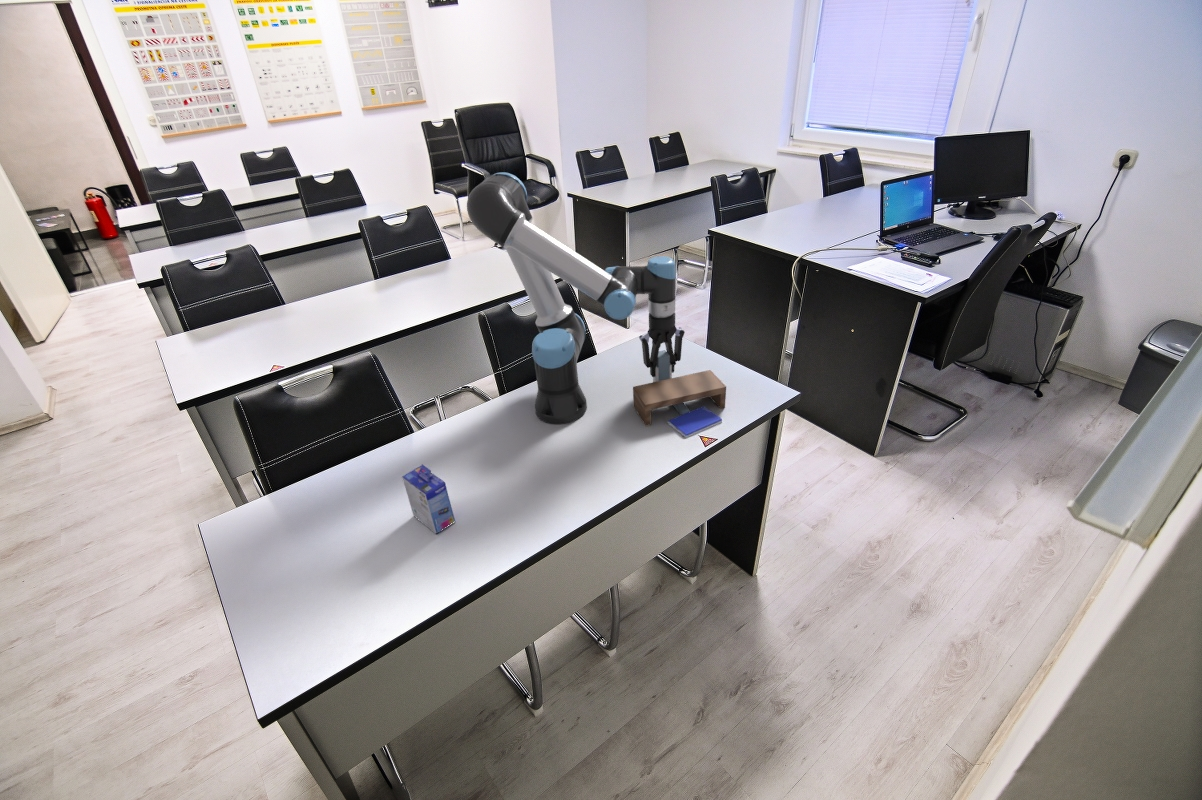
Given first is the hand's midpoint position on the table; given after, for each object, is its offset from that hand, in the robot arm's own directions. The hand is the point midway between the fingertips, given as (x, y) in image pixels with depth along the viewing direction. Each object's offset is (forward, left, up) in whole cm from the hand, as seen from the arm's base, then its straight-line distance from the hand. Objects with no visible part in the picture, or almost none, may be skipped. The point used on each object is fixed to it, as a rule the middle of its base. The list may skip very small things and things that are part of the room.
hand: (662, 383), depth 172 cm
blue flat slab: (+1, -21, -2) cm, 21 cm away
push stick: (0, -7, -1) cm, 7 cm away
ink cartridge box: (-70, -34, -1) cm, 78 cm away
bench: (0, -13, -1) cm, 13 cm away
